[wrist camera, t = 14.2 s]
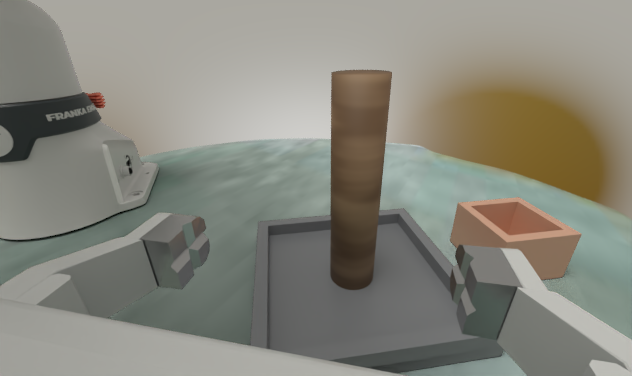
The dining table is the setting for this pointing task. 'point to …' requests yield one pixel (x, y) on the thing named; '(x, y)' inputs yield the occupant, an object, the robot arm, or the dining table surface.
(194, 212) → the dining table surface
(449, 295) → the tray
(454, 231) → the pot
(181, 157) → the dining table surface
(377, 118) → the dowel
